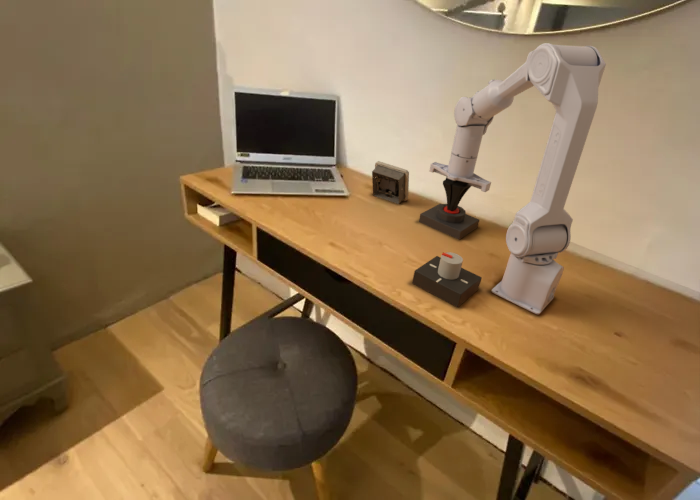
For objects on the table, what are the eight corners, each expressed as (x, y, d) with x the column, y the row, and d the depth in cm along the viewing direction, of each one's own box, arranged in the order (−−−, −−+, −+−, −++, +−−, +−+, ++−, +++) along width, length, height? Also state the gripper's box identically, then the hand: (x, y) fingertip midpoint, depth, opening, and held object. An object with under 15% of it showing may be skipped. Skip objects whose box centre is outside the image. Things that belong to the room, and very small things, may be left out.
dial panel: (478, 289, 90) (482, 276, 89) (457, 308, 85) (460, 293, 83) (434, 267, 96) (437, 254, 94) (411, 283, 90) (414, 269, 89)
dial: (462, 272, 89) (466, 255, 87) (454, 282, 86) (458, 265, 84) (442, 265, 91) (446, 248, 89) (434, 274, 88) (438, 257, 86)
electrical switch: (408, 200, 122) (412, 168, 117) (398, 209, 119) (402, 175, 113) (377, 190, 126) (379, 158, 121) (367, 198, 123) (369, 165, 117)
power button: (460, 216, 112) (462, 209, 111) (453, 220, 109) (454, 214, 108) (447, 210, 114) (449, 204, 113) (439, 215, 111) (441, 208, 110)
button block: (477, 227, 113) (481, 212, 111) (458, 239, 107) (462, 224, 105) (438, 211, 119) (441, 196, 117) (418, 221, 113) (421, 206, 110)
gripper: (426, 147, 105) (416, 203, 112) (485, 168, 97) (470, 226, 104) (443, 141, 109) (432, 195, 116) (500, 160, 102) (485, 216, 109)
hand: (451, 209), depth 111 cm, fingers closed, pressing on power button
